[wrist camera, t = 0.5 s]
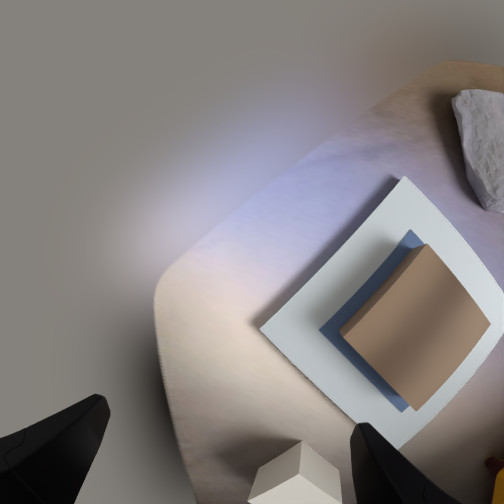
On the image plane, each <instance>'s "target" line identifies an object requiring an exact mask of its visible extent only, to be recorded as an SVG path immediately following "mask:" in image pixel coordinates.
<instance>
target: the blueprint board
mask: <svg viewBox="0 0 504 504" xmlns="http://www.w3.org/2000/svg"><path fill="white" fill-rule="evenodd" d="M260 331H261V332H262V333H263V334H264V335H265V336H266V337H267V338H268V339H269V340H270V341H271V342H272V343H273V344H274V345H275V346H276V347H277V348H278V349H279V350H280V351H281V352H282V353H283V354H284V355H285V356H286V357H287V358H288V359H289V360H290V361H291V362H292V363H293V364H294V365H295V366H296V367H297V368H298V369H299V370H300V371H301V372H302V373H303V374H305V375H306V376H307V377H308V378H309V379H310V380H311V381H312V382H313V383H314V384H315V385H316V386H317V387H318V388H319V389H320V390H321V391H322V392H323V393H324V394H325V395H326V396H328V397H329V398H330V399H331V400H332V401H333V402H334V403H335V404H336V405H337V406H338V407H339V408H340V409H341V410H343V411H344V412H345V413H346V414H347V415H348V416H349V417H350V418H351V419H352V420H354V421H355V422H356V423H362V422H368V423H370V424H371V425H372V426H373V427H374V428H375V429H376V430H377V431H378V432H379V433H380V434H381V435H382V436H383V437H384V438H385V439H386V440H387V441H389V442H390V443H391V444H392V445H393V446H394V447H395V448H396V449H397V450H398V449H399V448H400V447H402V446H403V445H404V444H405V443H406V442H408V441H409V440H410V439H411V438H412V437H413V436H415V435H416V434H417V433H418V432H419V431H420V430H421V429H422V428H423V427H424V426H426V425H427V424H428V423H429V422H430V421H431V420H432V419H433V418H434V417H435V416H436V415H437V414H438V413H439V412H440V411H441V410H442V409H443V408H444V407H445V406H446V405H447V404H448V403H449V402H450V401H451V399H452V398H453V397H454V396H455V395H456V394H457V393H458V392H459V391H460V389H461V388H462V387H463V386H464V385H465V384H466V383H467V381H468V380H469V379H470V378H471V377H472V375H473V374H474V373H475V372H476V370H477V369H478V368H479V367H480V365H481V364H482V363H483V361H484V360H485V359H486V357H487V356H488V355H489V353H490V352H491V351H492V349H493V348H494V346H495V345H496V343H497V342H498V341H499V339H500V338H501V336H502V335H503V333H504V293H503V291H502V290H501V288H500V287H499V285H498V284H497V282H496V281H495V280H494V278H493V277H492V275H491V274H490V272H489V271H488V270H487V268H486V267H485V266H484V264H483V263H482V262H481V260H480V259H479V258H478V256H477V255H476V254H475V252H474V251H473V250H472V249H471V247H470V246H469V245H468V244H467V242H466V241H465V240H464V239H463V237H462V236H461V235H460V234H459V233H458V231H457V230H456V229H455V228H454V227H453V226H452V225H451V223H450V222H449V221H448V220H447V219H446V218H445V217H444V216H443V214H442V213H441V212H440V211H439V210H438V209H437V208H436V207H435V206H434V205H433V204H432V203H431V202H430V200H429V199H428V198H427V197H426V196H425V195H424V194H423V193H422V192H421V191H420V190H419V189H418V188H417V187H416V186H415V185H414V184H413V183H412V182H411V181H410V180H409V179H407V178H406V177H405V176H404V177H403V178H402V179H401V180H400V182H399V183H398V184H397V185H396V186H395V187H394V189H393V190H392V191H391V192H390V193H389V194H388V196H387V197H386V198H385V199H384V200H383V201H382V202H381V204H380V205H379V206H378V207H377V208H376V209H375V210H374V212H373V213H372V214H371V215H370V216H369V217H368V218H367V219H366V221H365V222H364V223H363V224H362V225H361V226H360V227H359V228H358V229H357V230H356V232H355V233H354V234H353V235H352V236H351V237H350V238H349V239H348V240H347V241H346V242H345V243H344V244H343V246H342V247H341V248H340V249H339V250H338V251H337V252H336V253H335V254H334V255H333V256H332V257H331V258H330V259H329V260H328V261H327V262H326V263H325V265H324V266H323V267H322V268H321V269H320V270H319V271H318V272H317V273H316V274H315V275H314V276H313V277H312V278H311V279H310V280H309V281H308V282H307V283H306V284H305V285H304V286H303V287H302V288H301V289H300V290H299V291H298V292H297V293H296V294H295V295H294V296H293V297H292V298H291V299H290V300H289V301H288V302H287V303H286V304H285V305H284V306H283V307H282V308H281V309H280V310H279V311H278V312H277V313H276V314H274V315H273V316H272V317H271V318H270V319H269V320H268V321H267V322H266V323H265V324H264V325H263V326H262V327H261V328H260Z"/></svg>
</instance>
